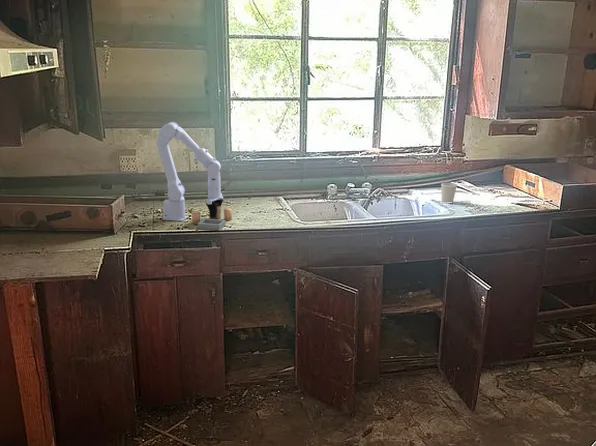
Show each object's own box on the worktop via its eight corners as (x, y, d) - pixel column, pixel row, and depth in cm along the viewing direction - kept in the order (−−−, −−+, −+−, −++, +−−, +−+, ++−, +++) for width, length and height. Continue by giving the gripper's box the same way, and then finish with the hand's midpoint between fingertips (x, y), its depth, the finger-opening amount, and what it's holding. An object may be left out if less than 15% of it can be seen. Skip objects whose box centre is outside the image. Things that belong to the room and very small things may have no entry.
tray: (197, 228, 250) (197, 223, 250) (204, 223, 258) (204, 218, 257) (219, 230, 248) (219, 225, 248) (225, 225, 256) (225, 220, 255)
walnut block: (209, 220, 264) (209, 207, 262) (212, 217, 267) (212, 205, 266) (217, 220, 263) (217, 208, 261) (220, 218, 267) (220, 205, 265)
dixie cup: (438, 203, 301) (440, 185, 298) (439, 200, 308) (441, 182, 306) (455, 205, 298) (456, 186, 296) (455, 201, 306) (457, 183, 303)
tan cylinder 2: (223, 220, 263) (222, 209, 262) (225, 218, 267) (225, 208, 265) (230, 221, 263) (230, 210, 261) (233, 218, 266) (232, 208, 265)
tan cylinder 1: (191, 223, 258) (190, 212, 256) (194, 221, 261) (193, 210, 259) (198, 224, 257) (198, 213, 255) (201, 222, 260) (201, 211, 259)
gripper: (217, 191, 253) (217, 220, 257) (228, 184, 267) (228, 212, 271) (202, 190, 255) (202, 219, 258) (213, 183, 268) (214, 211, 272)
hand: (215, 215), depth 265 cm, fingers closed on walnut block, 4 cm apart
